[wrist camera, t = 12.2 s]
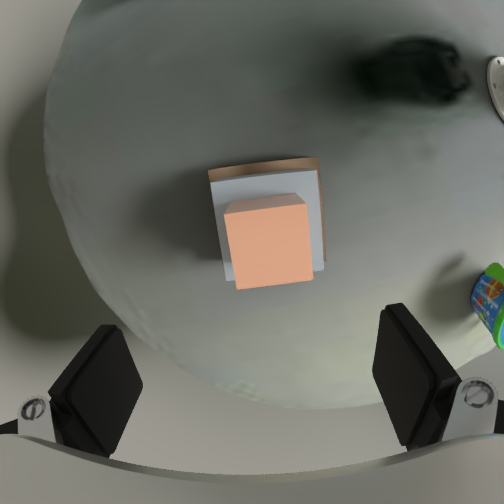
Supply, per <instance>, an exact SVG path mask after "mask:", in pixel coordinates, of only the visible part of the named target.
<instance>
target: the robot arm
mask: <svg viewBox="0 0 504 504" xmlns="http://www.w3.org/2000/svg"><path fill="white" fill-rule="evenodd" d="M487 82H488V88H489V91H490V95H491V98H492V101H493V103H494V105H495V108H496V110H497V111H498V113H499V115H500V116H501V118H502V119H503V121H504V57H495V58H493V59H492V60H491V61H490V62H489V64H488V67H487ZM372 372H373V377H374V380H375V382H376V384H377V387H378V389H379V392H380V394H381V396H382V399H383V401H384V404H385V406H386V408H387V411H388V413H389V416H390V419H391V421H392V424H393V426H394V429H395V432H396V434H397V437H398V439H399V442H400V444H401V445H402V446H406V448H407V452H404V453H401V454H397V455H393V456H389V457H386V458H381V459H377V460H372V461H368V462H363V463H358V464H353V465H348V466H343V467H337V468H330V469H324V470H316V471H308V472H298V473H285V474H265V475H223V474H222V475H221V474H204V473H192V472H182V471H174V470H166V469H159V468H153V467H147V466H141V465H136V464H131V463H126V462H122V461H117V460H113V459H109V457H110V455H111V454H113V453H114V452H115V450H116V447H117V445H118V443H119V440H120V438H121V436H122V434H123V431H124V429H125V427H126V424H127V422H128V420H129V418H130V415H131V413H132V411H133V409H134V407H135V404H136V402H137V400H138V398H139V395H140V393H141V391H142V388H143V383H142V380H141V378H140V375H139V373H138V371H137V368H136V366H135V364H134V361H133V359H132V356H131V354H130V351H129V349H128V346H127V344H126V341H125V338H124V336H123V333H122V331H121V330H120V329H118V327H117V326H116V325H101V326H100V327H99V328H98V329H97V330H96V331H95V333H94V334H93V335H92V336H91V337H90V339H89V340H88V341H87V342H86V344H85V345H84V346H83V347H82V348H81V350H80V351H79V352H78V353H77V355H76V356H75V357H74V358H73V360H72V361H71V362H70V363H69V365H68V366H67V367H66V369H65V370H64V371H63V372H62V374H61V375H60V376H59V378H58V379H57V380H56V381H55V383H54V384H53V386H52V387H51V388H50V390H49V391H48V393H49V395H50V397H51V400H50V401H48V399H47V398H46V397H44V396H32V397H30V398H28V399H27V400H25V401H24V402H23V403H22V404H21V406H20V408H19V409H18V419H16V420H13V421H10V422H7V423H5V424H2V425H0V504H504V401H503V400H499V399H498V391H497V389H496V387H495V386H494V385H493V383H492V382H490V381H488V380H487V379H484V378H481V377H471V378H467V379H465V380H463V381H462V380H461V378H460V377H459V375H458V374H457V373H456V371H455V370H454V368H453V367H452V366H451V364H450V363H449V362H448V360H447V359H446V357H445V356H444V355H443V353H442V352H441V351H440V349H439V348H438V347H437V346H436V344H435V343H434V342H433V340H432V339H431V338H430V336H429V335H428V334H427V333H426V331H425V330H424V329H423V328H422V326H421V325H420V324H419V323H418V321H417V320H416V319H415V318H414V316H413V315H412V314H411V313H410V311H409V310H408V309H407V308H406V307H405V305H404V304H403V303H396V304H390V305H387V306H386V307H385V310H382V311H381V313H380V321H379V329H378V336H377V343H376V350H375V356H374V362H373V368H372Z"/></svg>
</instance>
